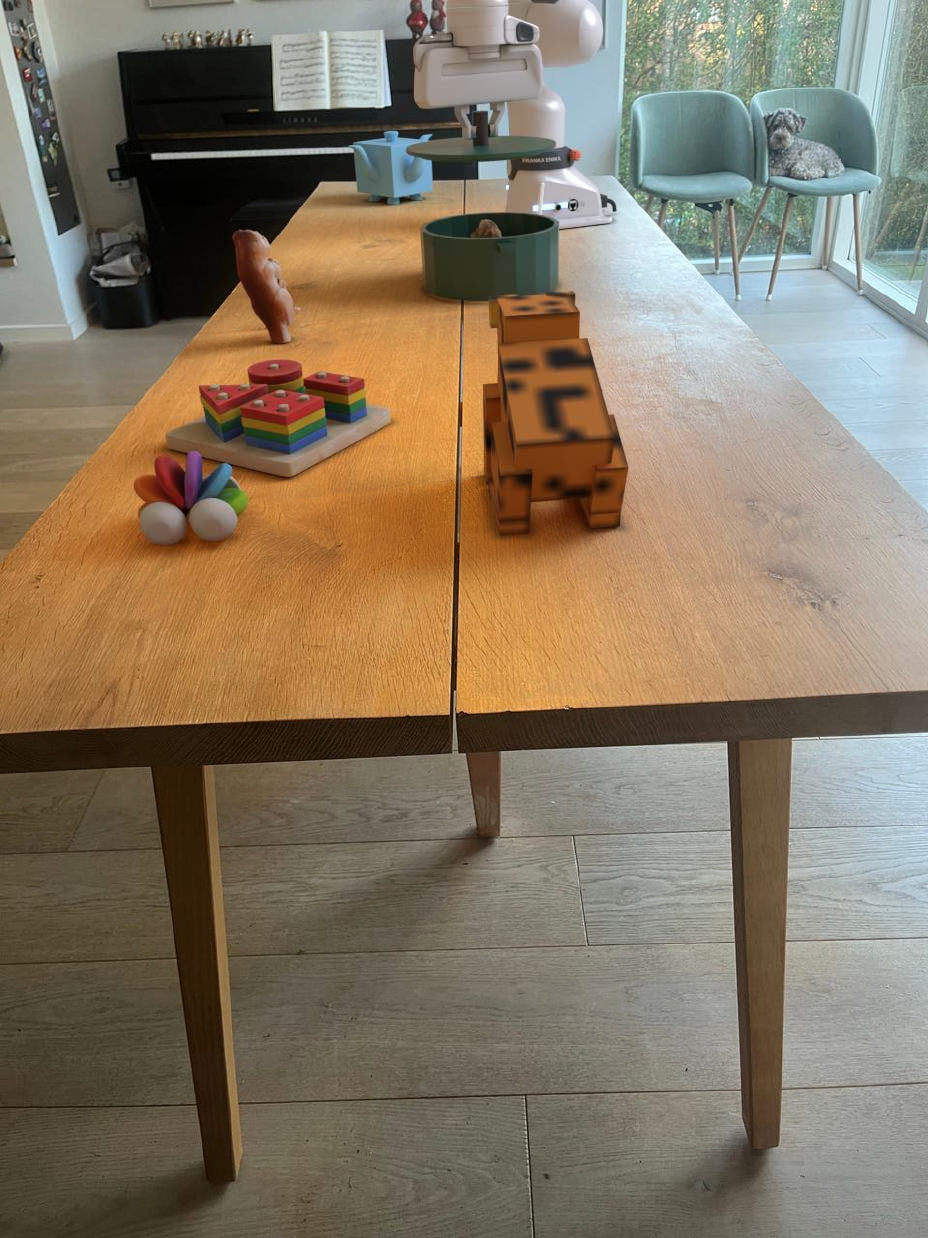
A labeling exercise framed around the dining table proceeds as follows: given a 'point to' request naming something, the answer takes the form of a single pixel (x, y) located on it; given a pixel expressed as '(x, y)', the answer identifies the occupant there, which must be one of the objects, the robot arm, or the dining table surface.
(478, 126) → the tin lid
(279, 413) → the shape sorter
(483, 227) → the lion figurine
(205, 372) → the dining table surface
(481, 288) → the tin
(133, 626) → the dining table surface
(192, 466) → the rainbow fan rolling toy
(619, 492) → the toy animal
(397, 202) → the teakettle
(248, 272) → the figurine
